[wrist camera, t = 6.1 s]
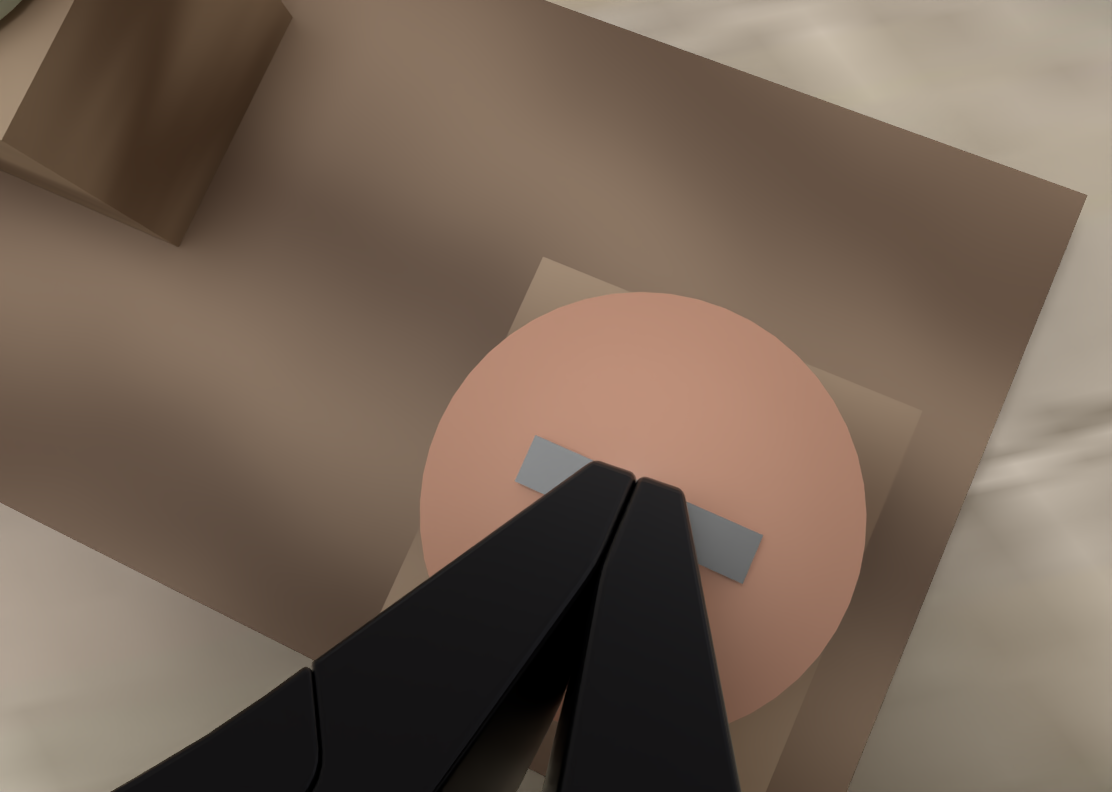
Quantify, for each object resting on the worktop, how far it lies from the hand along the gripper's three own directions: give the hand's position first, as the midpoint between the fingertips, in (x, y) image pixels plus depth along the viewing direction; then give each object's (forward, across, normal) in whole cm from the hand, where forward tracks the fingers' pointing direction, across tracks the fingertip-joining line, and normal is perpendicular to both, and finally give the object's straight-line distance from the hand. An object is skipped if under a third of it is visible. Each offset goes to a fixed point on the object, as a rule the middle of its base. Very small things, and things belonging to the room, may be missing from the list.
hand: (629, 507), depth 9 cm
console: (+10, +7, +6) cm, 14 cm away
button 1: (+2, 0, +2) cm, 3 cm away
